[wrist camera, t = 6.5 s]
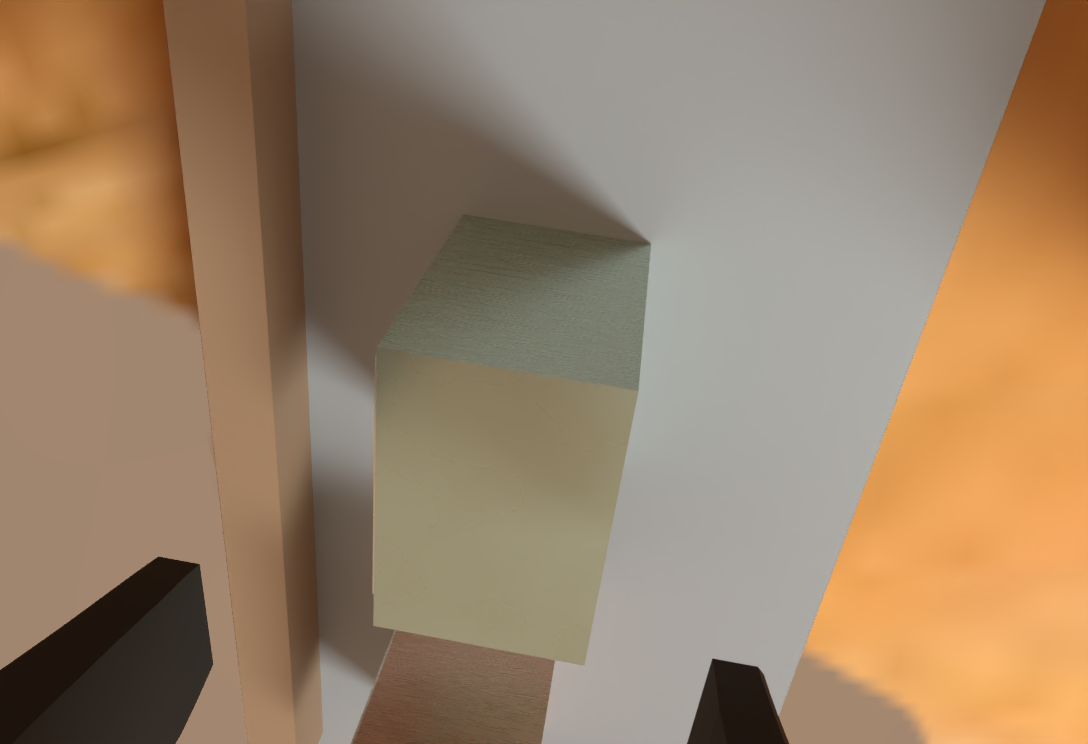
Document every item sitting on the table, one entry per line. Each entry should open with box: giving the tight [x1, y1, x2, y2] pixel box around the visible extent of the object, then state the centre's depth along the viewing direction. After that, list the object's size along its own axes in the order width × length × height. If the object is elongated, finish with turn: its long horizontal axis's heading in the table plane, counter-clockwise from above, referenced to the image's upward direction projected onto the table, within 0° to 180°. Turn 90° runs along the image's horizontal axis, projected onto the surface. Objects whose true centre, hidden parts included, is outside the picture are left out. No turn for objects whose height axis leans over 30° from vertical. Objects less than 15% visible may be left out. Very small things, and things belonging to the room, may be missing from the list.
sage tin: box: [372, 214, 651, 666], centre depth 17 cm, size 4×6×6 cm
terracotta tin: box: [351, 630, 555, 744], centre depth 22 cm, size 4×6×6 cm
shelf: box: [163, 0, 1046, 744], centre depth 20 cm, size 15×30×3 cm, turn 174°
